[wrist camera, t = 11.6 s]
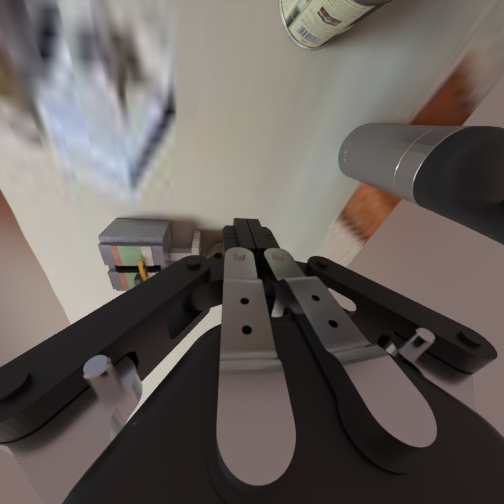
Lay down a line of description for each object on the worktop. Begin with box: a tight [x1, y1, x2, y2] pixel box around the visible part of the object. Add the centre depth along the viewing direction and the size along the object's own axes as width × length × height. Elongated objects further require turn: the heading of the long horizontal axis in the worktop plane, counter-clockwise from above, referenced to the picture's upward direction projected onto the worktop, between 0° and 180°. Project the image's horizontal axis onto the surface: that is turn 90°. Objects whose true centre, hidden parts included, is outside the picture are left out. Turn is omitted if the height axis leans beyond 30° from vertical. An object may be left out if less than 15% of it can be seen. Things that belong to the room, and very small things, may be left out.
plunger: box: [137, 231, 201, 282], centre depth 39 cm, size 10×8×9 cm
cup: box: [206, 242, 222, 262], centre depth 41 cm, size 8×7×8 cm
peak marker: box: [134, 274, 142, 286], centre depth 35 cm, size 1×2×2 cm, turn 173°
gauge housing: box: [98, 218, 175, 291], centre depth 38 cm, size 10×12×8 cm
